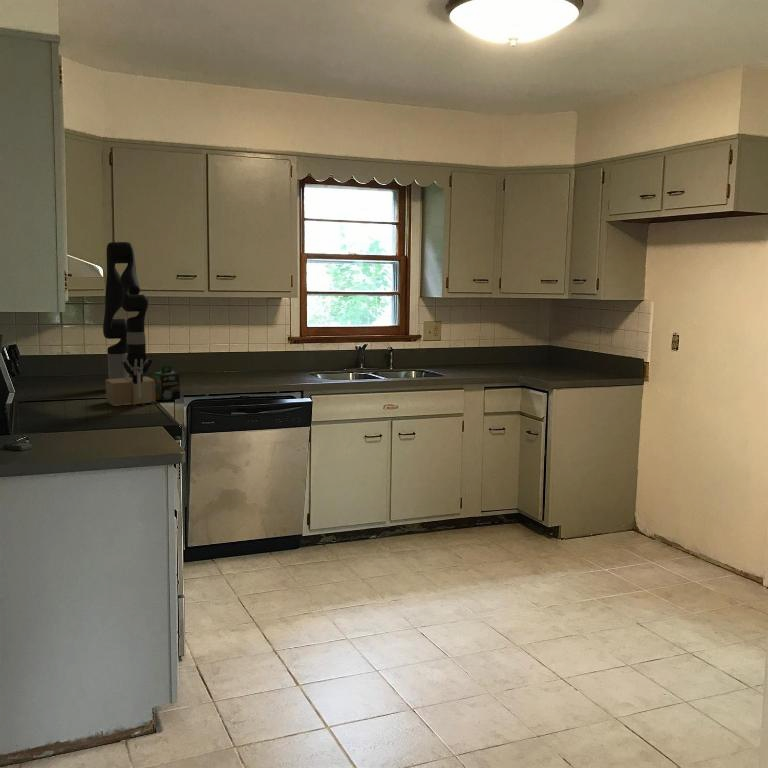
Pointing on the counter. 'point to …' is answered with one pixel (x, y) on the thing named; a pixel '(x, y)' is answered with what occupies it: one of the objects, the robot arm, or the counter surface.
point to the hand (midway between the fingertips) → (137, 383)
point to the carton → (123, 390)
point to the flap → (142, 390)
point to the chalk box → (167, 384)
